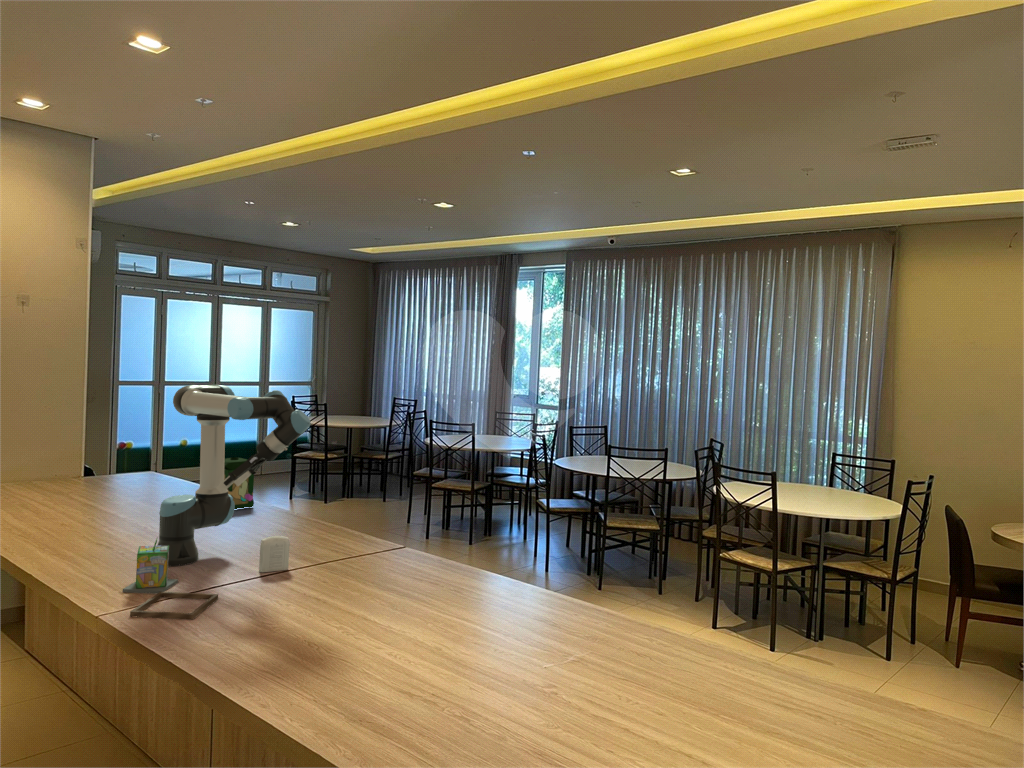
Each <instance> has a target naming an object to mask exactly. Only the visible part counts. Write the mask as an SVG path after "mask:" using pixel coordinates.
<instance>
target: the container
mask: <svg viewBox="0 0 1024 768" xmlns="http://www.w3.org/2000/svg"><path fill="white" fill-rule="evenodd" d="M247 460H248V459H247V458H242V457H236V456H234V457H227V458H225V462H224V480H225V479H226V478H227V477H228V476H229V474H228V473H229V472H230V473H231V472H233V471H234V470H235V469H236V468H238V467H239V466H240V465H241V464H243V463H244V462H245V461H247ZM254 478H255V474H254V475H253V474H252V473H251V475H250V476H249V477H248V478H247V479H246V480H245V481H244V482H243V483H241V484H240V485H239V486H237V485H236V484H235V483H233V484H232V485H231V486H230V487H228V488H227V490H228V494H230V495H231V496H232V497H233V501H234V503H235V509H237V508H244V507H252V506H253V507H254V505H255V501H254V483H255V482H254Z"/></svg>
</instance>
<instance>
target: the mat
mask: <svg viewBox="0 0 1024 768" xmlns="http://www.w3.org/2000/svg"><path fill="white" fill-rule="evenodd" d="M178 583H179V578H177V579H176V578H168V579H167V586H166V587H149V588H137V589H136V581H134V582H133V583H130V584H129V585H127V586H125V587H124V588H122V593H128V594H129V593H134V594H149V595H150V594H152V595H153V594H154V595H156V594H158V593H159V592H167V590H169V589H170V588H172V587H173V586H175V585H177V584H178Z"/></svg>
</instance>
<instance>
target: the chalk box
mask: <svg viewBox="0 0 1024 768" xmlns="http://www.w3.org/2000/svg"><path fill="white" fill-rule="evenodd" d="M158 539H159V536H158V537H157V536H156V539H155V542H154V545H139V546H138V550H137V555H136V569H135V570H136V574H135V582H136V589H137V588H149V587H166V586H167V579H169V578H168V577H169V576H168V575H169V566H168V560H169V545H158Z"/></svg>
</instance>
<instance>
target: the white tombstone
mask: <svg viewBox="0 0 1024 768" xmlns="http://www.w3.org/2000/svg"><path fill="white" fill-rule="evenodd" d="M259 549H260V550H259V564H258V571H259V573H270V572H278V571H287V570H288V569H289V562H290V561H289V559H290V538H289V537H287V536H283V535H273V536H268V537H266V538H262V539H261V541H260V545H259Z"/></svg>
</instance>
